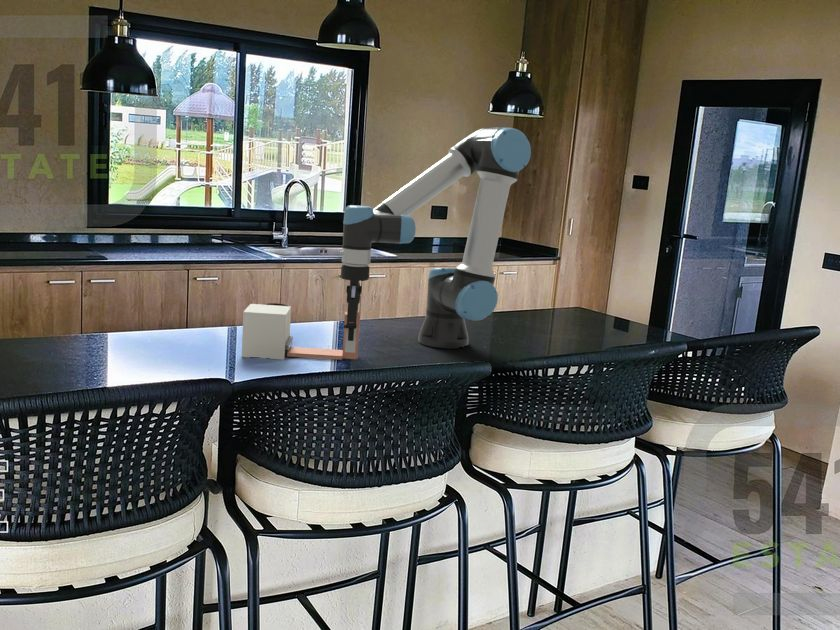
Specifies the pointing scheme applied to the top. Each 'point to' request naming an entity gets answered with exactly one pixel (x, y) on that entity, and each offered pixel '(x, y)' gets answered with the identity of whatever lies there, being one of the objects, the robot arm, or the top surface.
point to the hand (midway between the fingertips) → (350, 348)
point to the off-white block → (266, 331)
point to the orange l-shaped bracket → (328, 352)
